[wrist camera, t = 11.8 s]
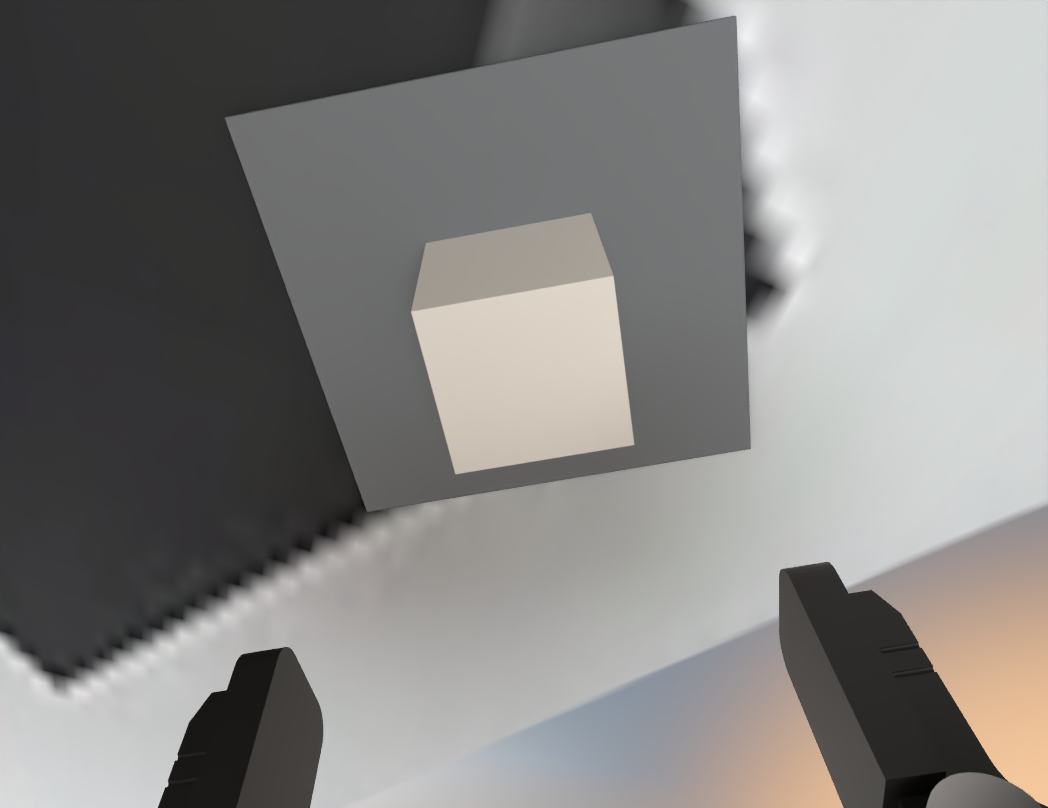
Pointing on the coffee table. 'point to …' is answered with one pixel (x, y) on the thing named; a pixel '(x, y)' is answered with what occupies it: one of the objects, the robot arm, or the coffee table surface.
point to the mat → (508, 201)
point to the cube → (523, 344)
